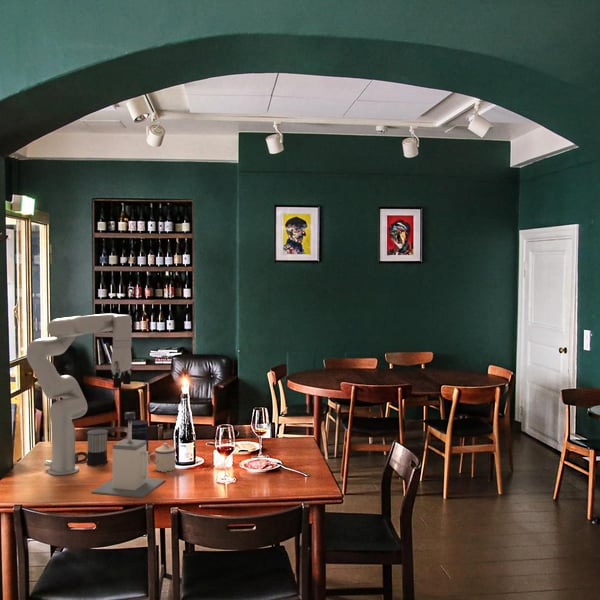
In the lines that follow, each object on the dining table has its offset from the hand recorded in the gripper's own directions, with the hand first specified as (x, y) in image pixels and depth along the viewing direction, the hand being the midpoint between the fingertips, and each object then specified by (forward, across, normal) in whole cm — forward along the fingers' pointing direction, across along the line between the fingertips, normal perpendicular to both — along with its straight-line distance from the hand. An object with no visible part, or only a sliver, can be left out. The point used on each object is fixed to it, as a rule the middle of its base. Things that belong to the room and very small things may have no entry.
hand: (122, 385), depth 275 cm
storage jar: (+40, -41, -12) cm, 59 cm away
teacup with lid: (+40, -19, +10) cm, 46 cm away
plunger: (+28, +7, +7) cm, 30 cm away
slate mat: (+40, +7, +7) cm, 41 cm away
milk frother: (+40, -20, -26) cm, 52 cm away
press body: (+40, +7, +8) cm, 41 cm away
